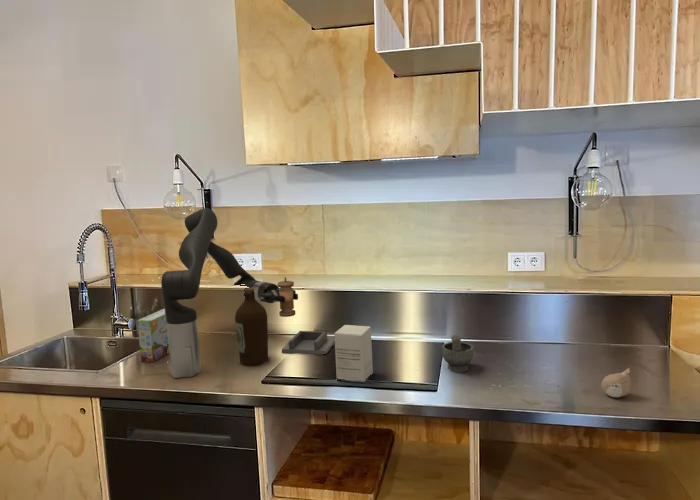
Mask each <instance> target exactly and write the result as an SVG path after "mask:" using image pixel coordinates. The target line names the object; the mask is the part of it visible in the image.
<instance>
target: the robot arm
mask: <svg viewBox="0 0 700 500" xmlns="http://www.w3.org/2000/svg"><path fill="white" fill-rule="evenodd" d="M184 226H185V229H186V230H187V232H188V233H187V235H186V236H185V237H184V238H183V240H182V241H181V244H180V248H179V249H178V258H179V260H180V262H181V263H182V264H183V266H184V267H186V269H184V270H183V269H181V270H180V269H179V270H169V271H165V272H163V274H162V276H161V281H160V283H161V292H162V300H163V307H164V308H165V315H166V322H167V333H168V344H169V353H168V354H169V365H170V373H171V376H172V377H173V379H176V378H178V379H179V378H190V377H191V378H192V377H194V376H195V375H197V374H199V373H200V372H201V371H202V363H201V362H202V361H201V351H200V350H201V349H200V340H199V339H200V338H199V330H198V329H199V328H198V316H197V315H198V314H197V311H196V310H195V309H194V308H192V307H188V306H186V305H183V304H181V303H180V302H179V301H180V300H181V301H182V300H192V299H195V298H196V297H197V295H198V293H199V290H200V286H201V285H200V284H201V278H202V271H203V267H204V263H205V261H206V258H207V255H209V256H210V257H211V258H212V259H213V260H214V261H215V263H216V264H217V265H218V267H219V268H220V270H221V271H222V272H223V274H224V275H225V276H226V278H228V279H230V280H233V279H234V278H237V277H238V276H240V278H239V279H238V280H237V281H235V282H234V283H233V284H234V285H240V286H247V287H249V288H254V292H255V298H256V299H255V300H256V301H260V302H263V303H267V304H273V303H278V302H279V303H280V302H282V303H284V302H285V297H284V296H280V295H279V289H280V287H278V284H276V283H271V282H268V281H260V280H256V279H255V277H254V276H253V275H251V274H250V273H249V272H248V271H246V270H245V269H244V268H243V267H242V266H241V264H240V263H239V261H238V260H237V258H236V257H235V256H234V254H233V253H232V252H231V251H229V250H228V249H226V248H224V247H222V246H220V245H218V244H216V243H215V242H213V241H212V238H213V236H214V234H215V232H216V231H217V227H218V218H217V215H216V213H215V212H214V211H213V210H212V209H211V208H208V207H203V208H200V209H198V210H197V211H195V212H193V213H191V214H189V215H188V216H186V217H185V218H184ZM241 284H245V285H241ZM293 299H294V300H295V301H297V300H299V294H298V293H296V290H295V289H293Z"/></svg>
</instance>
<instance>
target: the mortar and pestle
mask: <svg viewBox="0 0 700 500" xmlns="http://www.w3.org/2000/svg"><path fill="white" fill-rule="evenodd" d="M461 339H462V337H461V336H460V335H459V334H454V335H452V336H451V341H450V342H447V343H443V344H442V345H441V354H442V359H444V361H445V362H446V363H447V364H448V366H447V369H448V370H449V371H451V372H456V373H460V372H465V371H468V370H469V366H468V365H469V364H470V363H471V361H472V360H473V356H474V350H475V349H474V345H473V344H471V343H468V342H463V341H461Z"/></svg>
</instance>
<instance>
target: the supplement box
mask: <svg viewBox="0 0 700 500" xmlns="http://www.w3.org/2000/svg"><path fill="white" fill-rule="evenodd" d="M371 327H372V326H369V325H367V326H366V325H353V324H352V325H351V324H344V325H342V327H341V328H339V329H338V330H337V331H335V332H334V337H333V338H335V344H334V350H335V351H334V354H335V372H336V373H335V374H336V379H337V378H338V379H345V380H356V381H365V380H366V379H367V378H368V377H369V376H370V375H371V376H372V375H373V374H374V370H373V369H374V368H373V349H372V345H373V344H372V328H371ZM371 376H370V377H371ZM370 377H369V378H370ZM369 378H368V379H369ZM368 379H367V380H368Z"/></svg>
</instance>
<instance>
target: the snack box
mask: <svg viewBox="0 0 700 500" xmlns="http://www.w3.org/2000/svg"><path fill="white" fill-rule="evenodd" d="M137 328H138V330H137V331H138V342H139V355H140V362H142V363H143V362H144V363H154V362H156V361H157V360H159V359H161V358H163V357H164V356H166V355H168V354H169V344H168V333H167V322H166V315H165V307H164V308H162V309H160V310H158V311H155V312H154V313H151V314H148V315H146V316H144V317H141V318H140V319H137Z"/></svg>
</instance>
